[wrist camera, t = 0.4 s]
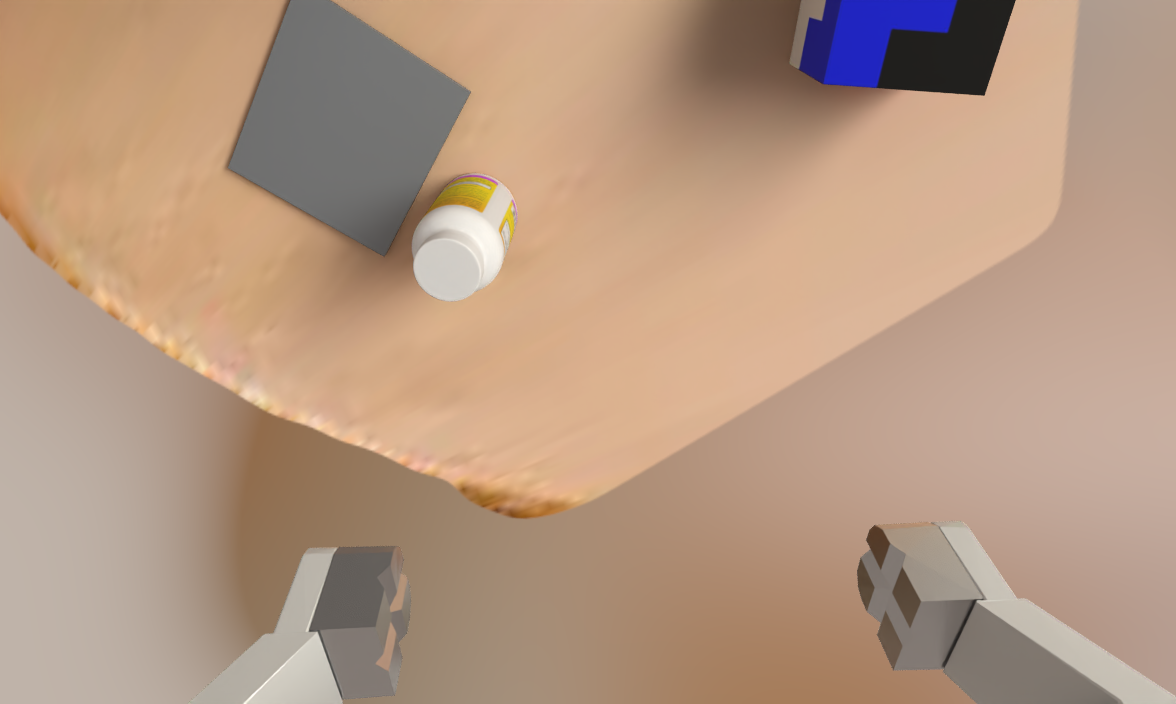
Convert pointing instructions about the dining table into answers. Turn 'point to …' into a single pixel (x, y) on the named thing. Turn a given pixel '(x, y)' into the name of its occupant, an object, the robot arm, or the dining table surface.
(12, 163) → the dining table surface
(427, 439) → the dining table surface
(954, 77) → the puzzle toy
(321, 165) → the mat
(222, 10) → the dining table surface
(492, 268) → the supplement bottle
